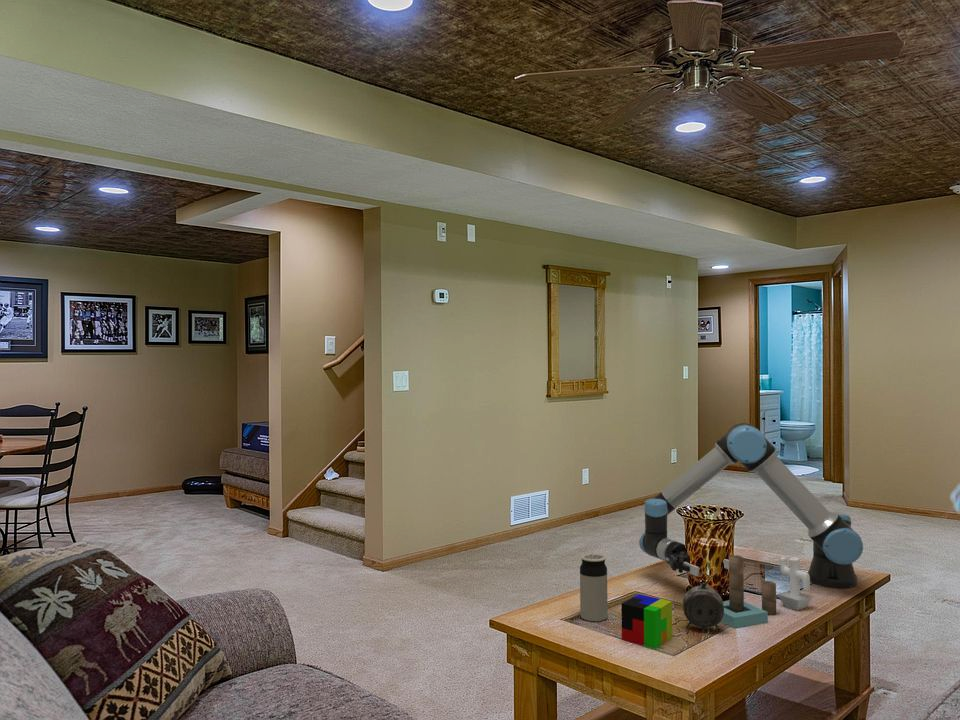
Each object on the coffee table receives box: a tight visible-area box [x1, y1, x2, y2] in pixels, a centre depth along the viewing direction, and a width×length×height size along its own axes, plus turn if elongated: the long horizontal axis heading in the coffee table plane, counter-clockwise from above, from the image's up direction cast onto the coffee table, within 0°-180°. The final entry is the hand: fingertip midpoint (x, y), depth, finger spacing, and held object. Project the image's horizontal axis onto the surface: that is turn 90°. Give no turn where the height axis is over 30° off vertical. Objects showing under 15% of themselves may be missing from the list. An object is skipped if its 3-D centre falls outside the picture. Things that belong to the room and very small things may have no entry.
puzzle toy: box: [620, 593, 673, 650], centre depth 199 cm, size 10×10×10 cm
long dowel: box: [728, 554, 745, 613], centre depth 214 cm, size 4×4×18 cm
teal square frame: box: [720, 600, 769, 629], centre depth 214 cm, size 12×12×3 cm
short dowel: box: [761, 580, 777, 616], centre depth 218 cm, size 4×4×9 cm
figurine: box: [776, 556, 814, 611], centre depth 223 cm, size 7×9×15 cm
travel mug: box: [579, 553, 609, 623], centre depth 216 cm, size 8×8×18 cm
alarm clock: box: [682, 572, 724, 634], centre depth 205 cm, size 11×5×16 cm, turn 74°
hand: (716, 569), depth 222 cm, fingers open, 13 cm apart
